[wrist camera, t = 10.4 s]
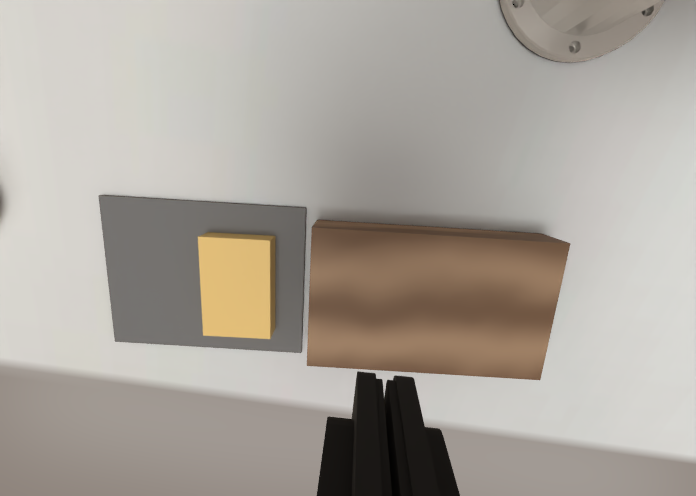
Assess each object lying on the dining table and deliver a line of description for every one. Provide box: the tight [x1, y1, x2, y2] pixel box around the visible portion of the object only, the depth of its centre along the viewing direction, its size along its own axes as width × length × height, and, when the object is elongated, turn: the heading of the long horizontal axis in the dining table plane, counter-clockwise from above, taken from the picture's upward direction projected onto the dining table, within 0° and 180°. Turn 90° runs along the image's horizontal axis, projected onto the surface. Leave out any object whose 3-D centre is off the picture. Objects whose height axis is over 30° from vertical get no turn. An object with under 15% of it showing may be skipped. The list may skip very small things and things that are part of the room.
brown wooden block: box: [307, 220, 570, 380], centre depth 29 cm, size 12×20×4 cm, turn 87°
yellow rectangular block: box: [198, 232, 275, 339], centre depth 30 cm, size 9×6×2 cm, turn 177°
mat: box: [99, 195, 306, 353], centre depth 31 cm, size 14×18×1 cm
